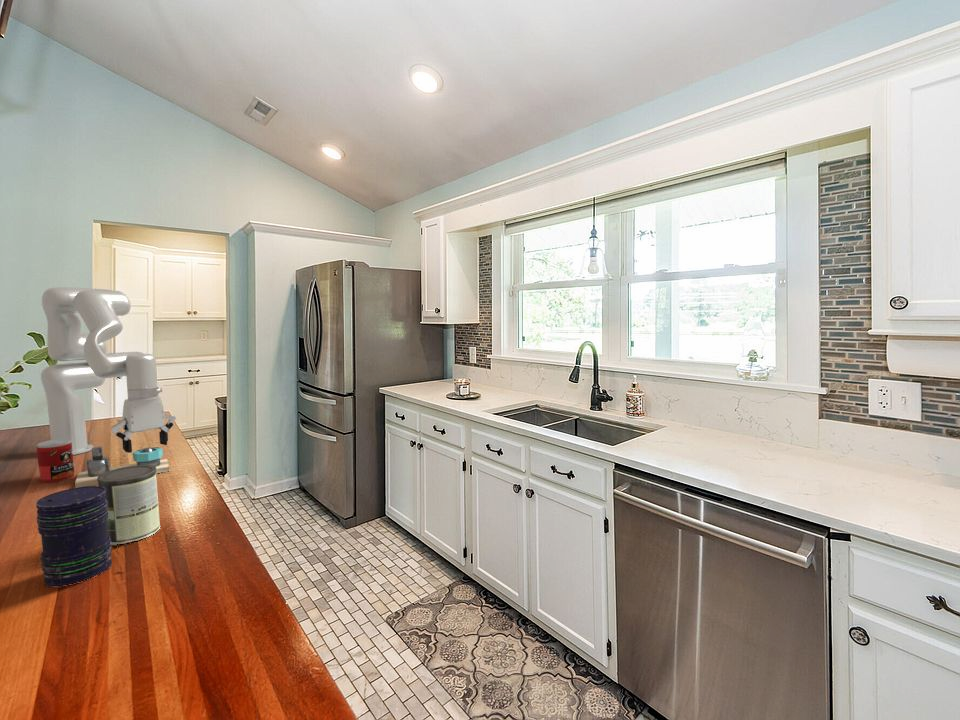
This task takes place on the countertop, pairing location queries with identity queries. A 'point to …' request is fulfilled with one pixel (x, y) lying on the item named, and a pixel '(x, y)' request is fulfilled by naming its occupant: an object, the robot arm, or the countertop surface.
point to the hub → (152, 462)
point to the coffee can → (131, 503)
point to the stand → (97, 463)
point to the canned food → (55, 460)
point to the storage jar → (74, 535)
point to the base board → (88, 481)
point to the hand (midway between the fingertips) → (146, 448)
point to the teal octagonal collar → (147, 455)
